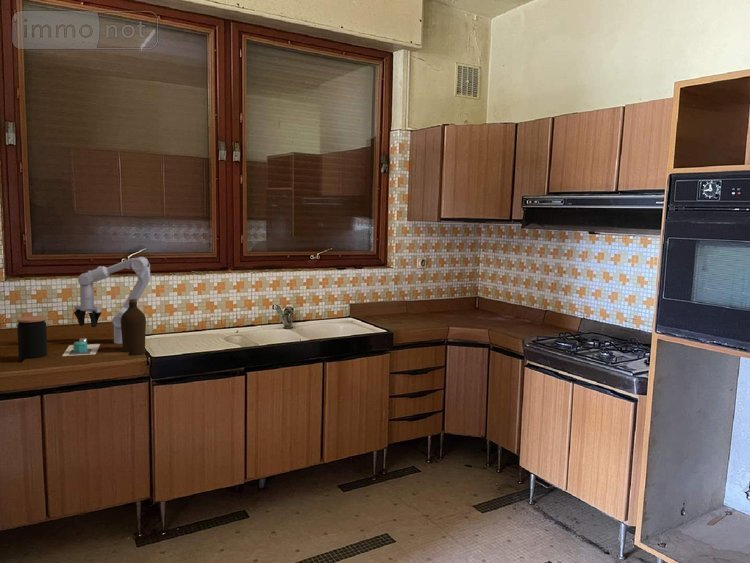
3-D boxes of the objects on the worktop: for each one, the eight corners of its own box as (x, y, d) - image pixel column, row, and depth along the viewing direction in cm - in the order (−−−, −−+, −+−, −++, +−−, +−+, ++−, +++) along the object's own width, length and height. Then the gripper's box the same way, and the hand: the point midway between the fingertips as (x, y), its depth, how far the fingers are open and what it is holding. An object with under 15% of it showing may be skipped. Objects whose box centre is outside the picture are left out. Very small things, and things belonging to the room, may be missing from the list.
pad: (91, 349, 255) (91, 348, 254) (89, 353, 247) (89, 352, 247) (71, 350, 252) (71, 349, 252) (69, 354, 244) (69, 353, 244)
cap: (85, 349, 253) (85, 340, 253) (88, 351, 249) (88, 342, 249) (72, 350, 250) (72, 342, 249) (75, 353, 246) (74, 344, 245)
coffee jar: (51, 356, 247) (50, 315, 245) (41, 362, 237) (40, 320, 235) (25, 356, 246) (23, 315, 244) (14, 362, 235) (12, 320, 233)
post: (87, 346, 261) (87, 337, 260) (86, 347, 258) (86, 339, 257) (80, 346, 259) (79, 338, 259) (79, 348, 257) (79, 339, 256)
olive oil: (133, 356, 250) (132, 301, 247) (116, 354, 254) (114, 299, 251) (151, 352, 259) (150, 298, 256) (134, 349, 263) (133, 296, 261)
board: (100, 346, 266) (100, 343, 266) (95, 357, 247) (95, 354, 247) (69, 348, 262) (69, 345, 261) (62, 359, 242) (62, 356, 242)
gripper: (105, 298, 267) (106, 326, 269) (82, 295, 272) (83, 323, 274) (93, 300, 261) (94, 328, 262) (70, 297, 266) (71, 325, 267)
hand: (87, 326), depth 267 cm, fingers open, 7 cm apart
